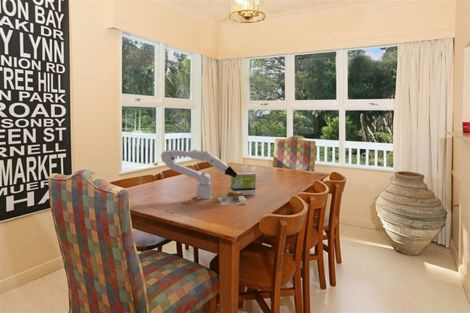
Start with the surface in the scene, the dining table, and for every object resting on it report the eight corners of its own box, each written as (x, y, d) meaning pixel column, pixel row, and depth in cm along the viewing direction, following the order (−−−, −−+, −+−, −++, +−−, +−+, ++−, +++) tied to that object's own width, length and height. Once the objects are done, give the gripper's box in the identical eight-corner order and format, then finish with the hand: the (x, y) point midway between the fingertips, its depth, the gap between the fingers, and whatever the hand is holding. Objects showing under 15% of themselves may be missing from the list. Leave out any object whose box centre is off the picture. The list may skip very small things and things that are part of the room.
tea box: (234, 196, 208) (234, 174, 206) (230, 193, 218) (230, 172, 216) (255, 195, 212) (255, 173, 210) (250, 191, 222) (251, 171, 220)
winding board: (221, 205, 186) (221, 196, 185) (217, 198, 203) (217, 189, 203) (247, 204, 189) (247, 195, 188) (241, 197, 206) (241, 188, 205)
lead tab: (222, 200, 195) (222, 192, 195) (221, 199, 198) (221, 191, 198) (227, 200, 196) (227, 192, 195) (226, 199, 199) (226, 191, 198)
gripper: (222, 157, 194) (240, 169, 194) (221, 160, 209) (238, 171, 208) (215, 167, 193) (234, 179, 193) (215, 169, 208) (232, 180, 207)
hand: (236, 175), depth 201 cm, fingers open, 7 cm apart
